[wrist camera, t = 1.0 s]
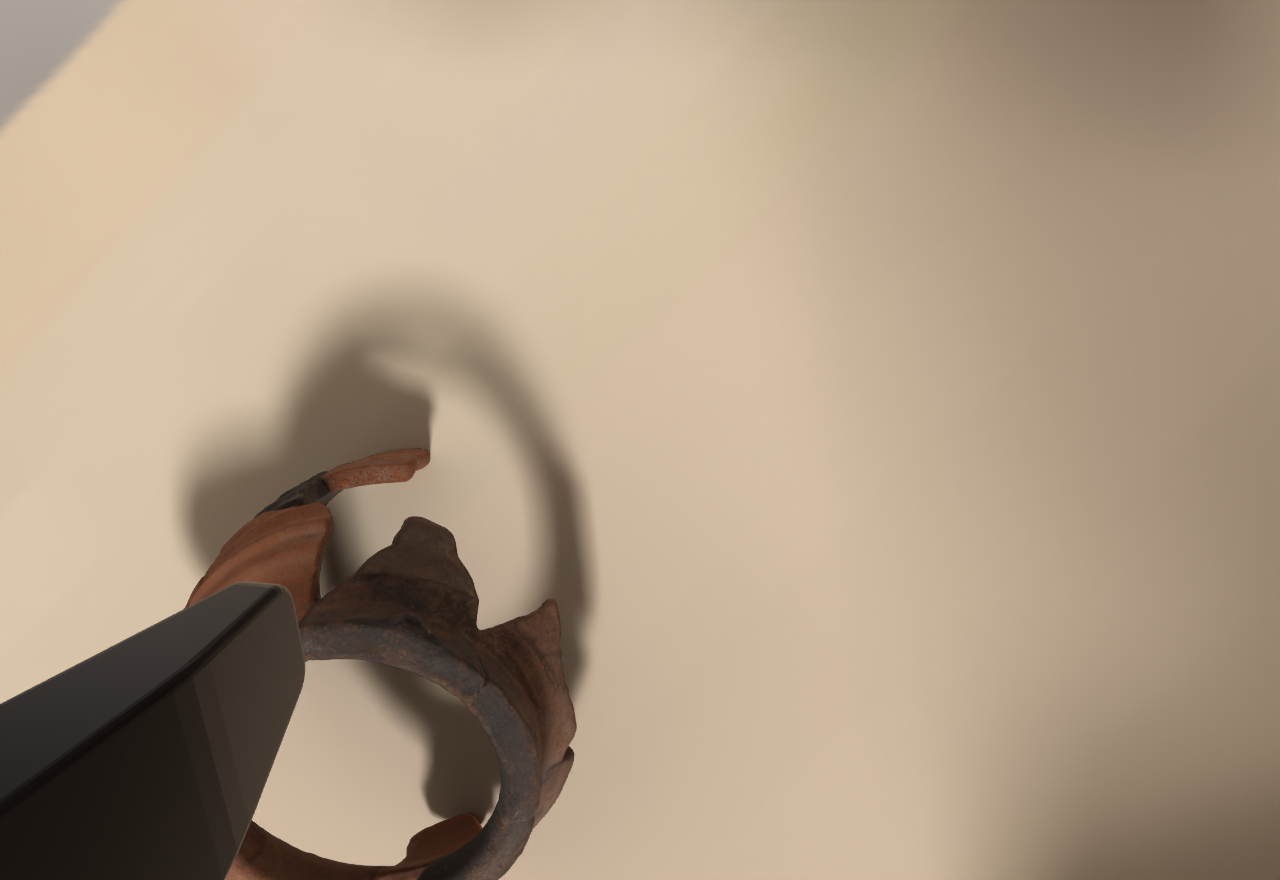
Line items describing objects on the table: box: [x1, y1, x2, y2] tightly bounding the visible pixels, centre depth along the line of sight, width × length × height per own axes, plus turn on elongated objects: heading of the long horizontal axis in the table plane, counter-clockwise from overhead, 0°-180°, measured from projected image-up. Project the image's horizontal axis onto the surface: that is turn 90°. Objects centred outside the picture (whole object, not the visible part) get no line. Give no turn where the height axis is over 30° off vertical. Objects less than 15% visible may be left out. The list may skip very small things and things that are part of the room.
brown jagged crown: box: [184, 448, 577, 880], centre depth 23 cm, size 12×10×8 cm
